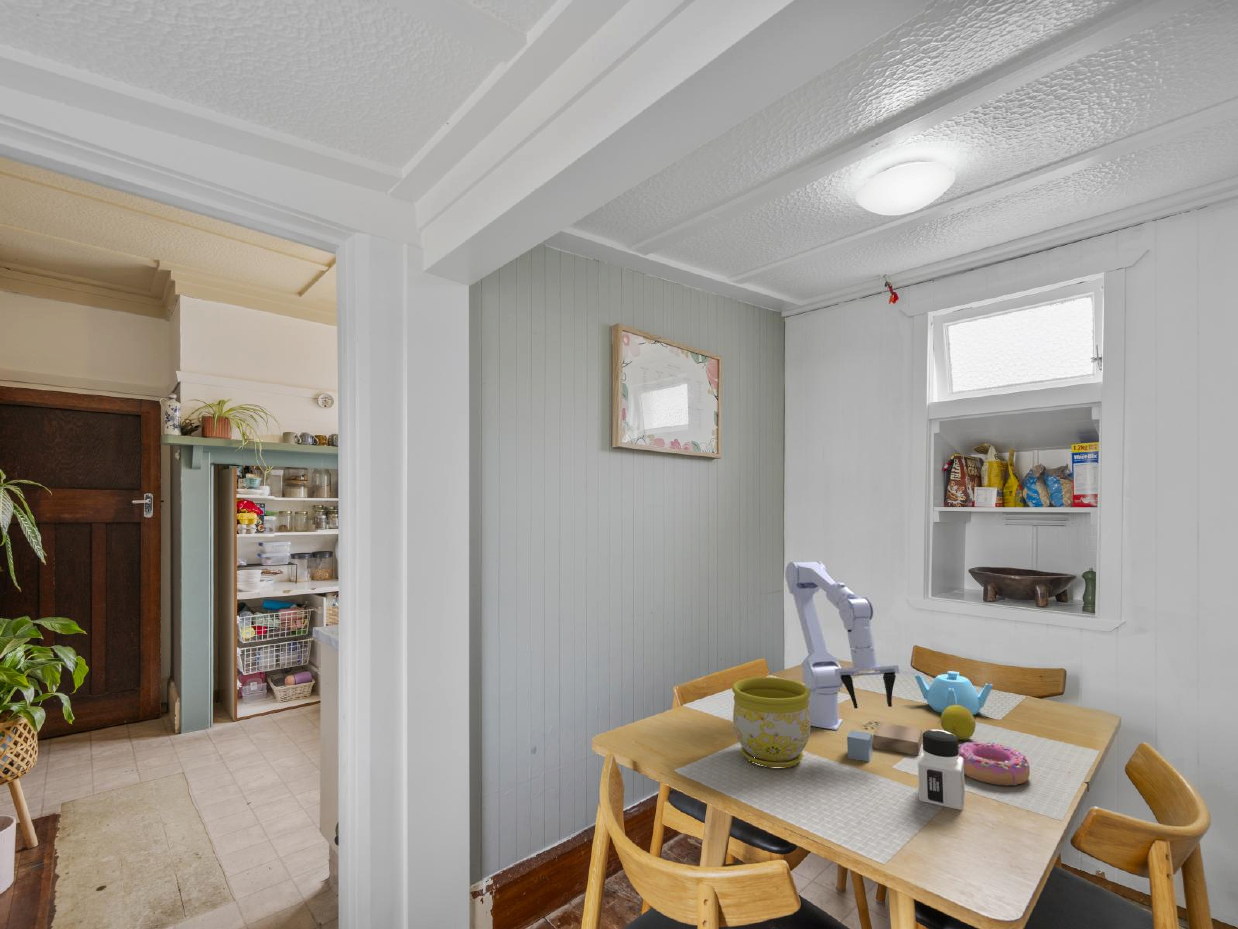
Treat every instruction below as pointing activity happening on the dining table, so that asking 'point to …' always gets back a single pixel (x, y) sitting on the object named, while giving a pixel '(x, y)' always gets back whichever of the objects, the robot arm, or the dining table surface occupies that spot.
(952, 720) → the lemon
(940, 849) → the dining table surface
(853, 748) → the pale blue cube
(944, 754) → the container
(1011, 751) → the donut
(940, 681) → the teapot
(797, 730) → the flowerpot
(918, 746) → the walnut block
